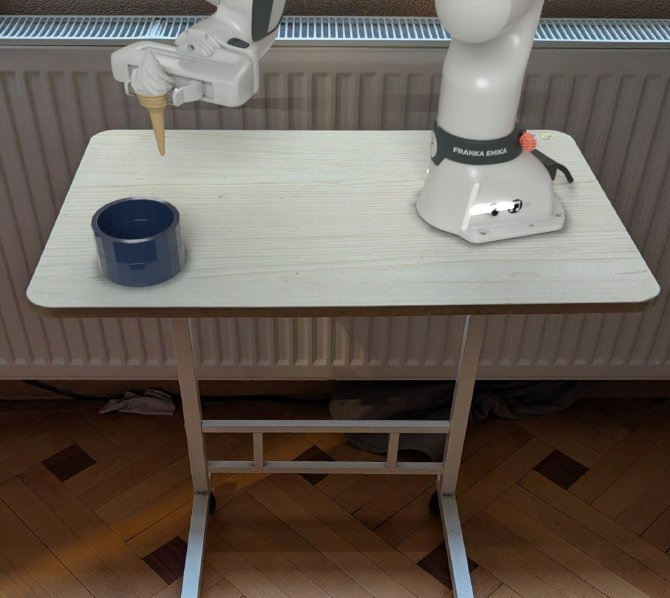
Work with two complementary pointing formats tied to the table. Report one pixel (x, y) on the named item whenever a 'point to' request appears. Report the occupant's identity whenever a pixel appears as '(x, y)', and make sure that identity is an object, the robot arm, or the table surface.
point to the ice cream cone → (153, 93)
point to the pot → (138, 241)
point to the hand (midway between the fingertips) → (150, 95)
